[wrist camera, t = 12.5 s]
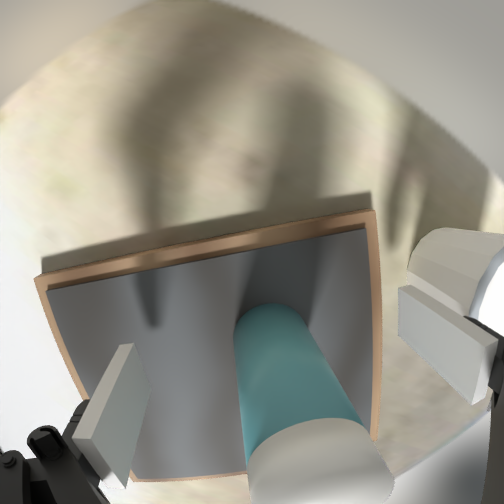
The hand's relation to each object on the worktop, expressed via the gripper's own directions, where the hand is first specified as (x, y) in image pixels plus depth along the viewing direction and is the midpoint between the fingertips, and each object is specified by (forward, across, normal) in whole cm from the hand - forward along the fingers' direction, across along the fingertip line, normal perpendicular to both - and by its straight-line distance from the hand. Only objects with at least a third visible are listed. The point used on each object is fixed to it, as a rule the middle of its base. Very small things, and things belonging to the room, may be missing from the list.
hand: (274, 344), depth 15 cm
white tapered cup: (+4, +12, 0) cm, 13 cm away
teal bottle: (+2, 0, -1) cm, 3 cm away
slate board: (+4, -3, -4) cm, 6 cm away
